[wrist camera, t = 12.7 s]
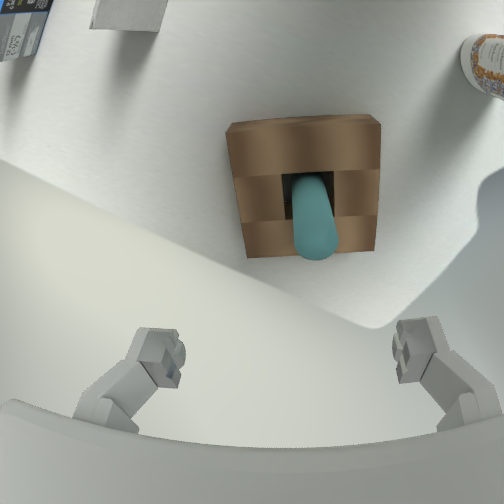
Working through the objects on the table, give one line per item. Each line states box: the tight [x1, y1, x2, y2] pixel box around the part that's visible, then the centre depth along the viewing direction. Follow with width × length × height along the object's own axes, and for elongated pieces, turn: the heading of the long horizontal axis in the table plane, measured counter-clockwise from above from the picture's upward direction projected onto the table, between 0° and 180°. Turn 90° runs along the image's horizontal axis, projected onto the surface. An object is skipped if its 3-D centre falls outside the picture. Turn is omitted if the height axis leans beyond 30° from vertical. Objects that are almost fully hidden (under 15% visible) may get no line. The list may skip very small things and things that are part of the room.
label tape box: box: [0, 0, 53, 62], centre depth 18 cm, size 9×4×12 cm, turn 153°
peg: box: [291, 172, 339, 260], centre depth 29 cm, size 3×3×12 cm
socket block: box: [226, 115, 381, 258], centre depth 32 cm, size 14×14×4 cm
